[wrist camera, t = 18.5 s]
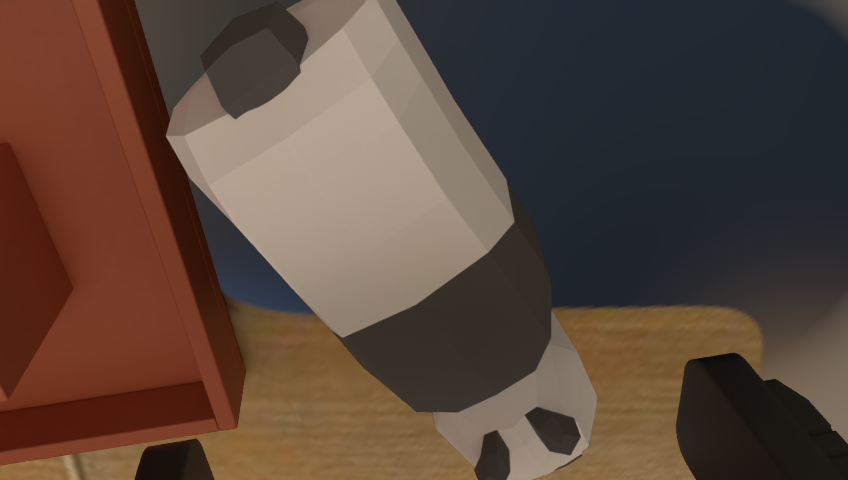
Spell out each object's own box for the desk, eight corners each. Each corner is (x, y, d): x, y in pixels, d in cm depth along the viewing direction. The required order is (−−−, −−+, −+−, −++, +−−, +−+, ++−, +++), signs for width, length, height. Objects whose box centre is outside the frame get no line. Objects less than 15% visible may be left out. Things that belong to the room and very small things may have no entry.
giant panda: (179, 30, 18) (58, 172, 10) (345, -90, 17) (363, -42, 9) (447, 357, 25) (505, 599, 17) (574, 286, 24) (701, 504, 16)
